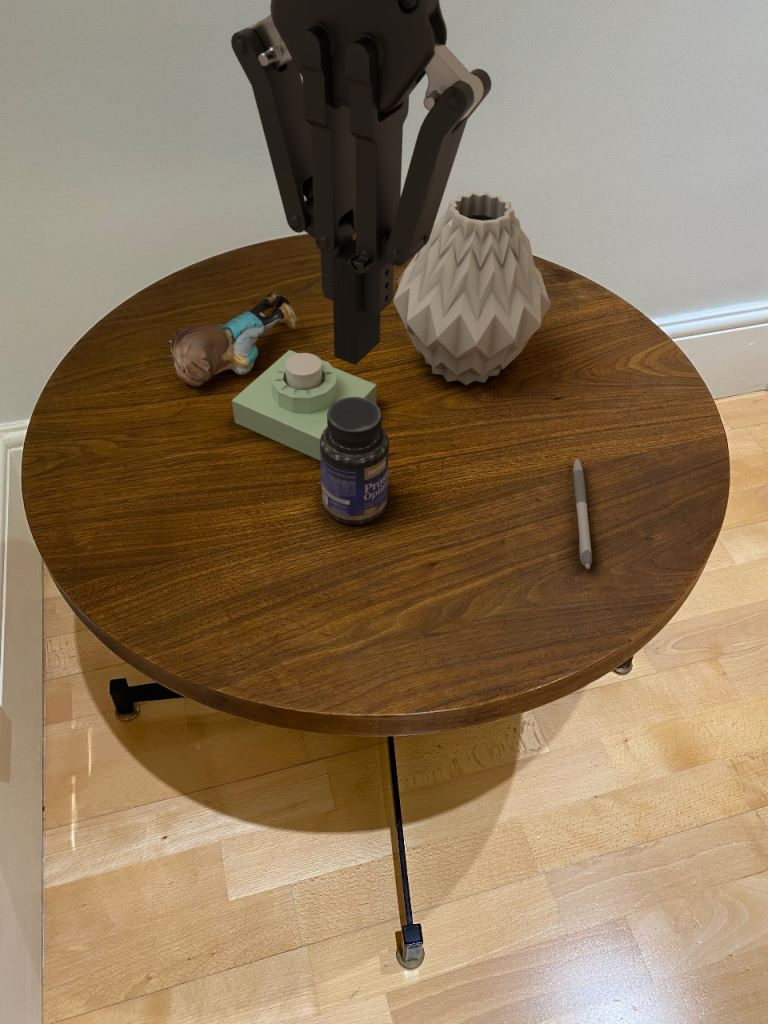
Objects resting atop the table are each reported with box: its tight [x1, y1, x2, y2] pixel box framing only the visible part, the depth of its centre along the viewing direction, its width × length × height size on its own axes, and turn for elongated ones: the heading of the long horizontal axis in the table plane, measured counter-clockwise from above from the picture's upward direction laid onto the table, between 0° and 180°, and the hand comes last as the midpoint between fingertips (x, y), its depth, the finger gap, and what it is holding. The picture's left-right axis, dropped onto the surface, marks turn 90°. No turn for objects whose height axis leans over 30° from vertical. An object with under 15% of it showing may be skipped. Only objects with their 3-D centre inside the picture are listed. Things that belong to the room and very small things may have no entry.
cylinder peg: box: [285, 352, 322, 390], centre depth 87 cm, size 4×4×2 cm
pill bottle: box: [320, 397, 390, 526], centre depth 78 cm, size 6×6×11 cm
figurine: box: [167, 292, 298, 387], centre depth 95 cm, size 8×16×6 cm, turn 134°
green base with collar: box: [231, 349, 378, 462], centre depth 89 cm, size 11×10×5 cm
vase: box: [392, 191, 551, 386], centre depth 91 cm, size 16×16×18 cm
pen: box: [572, 458, 593, 570], centre depth 81 cm, size 1×14×1 cm, turn 176°
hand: (357, 349), depth 52 cm, fingers closed
